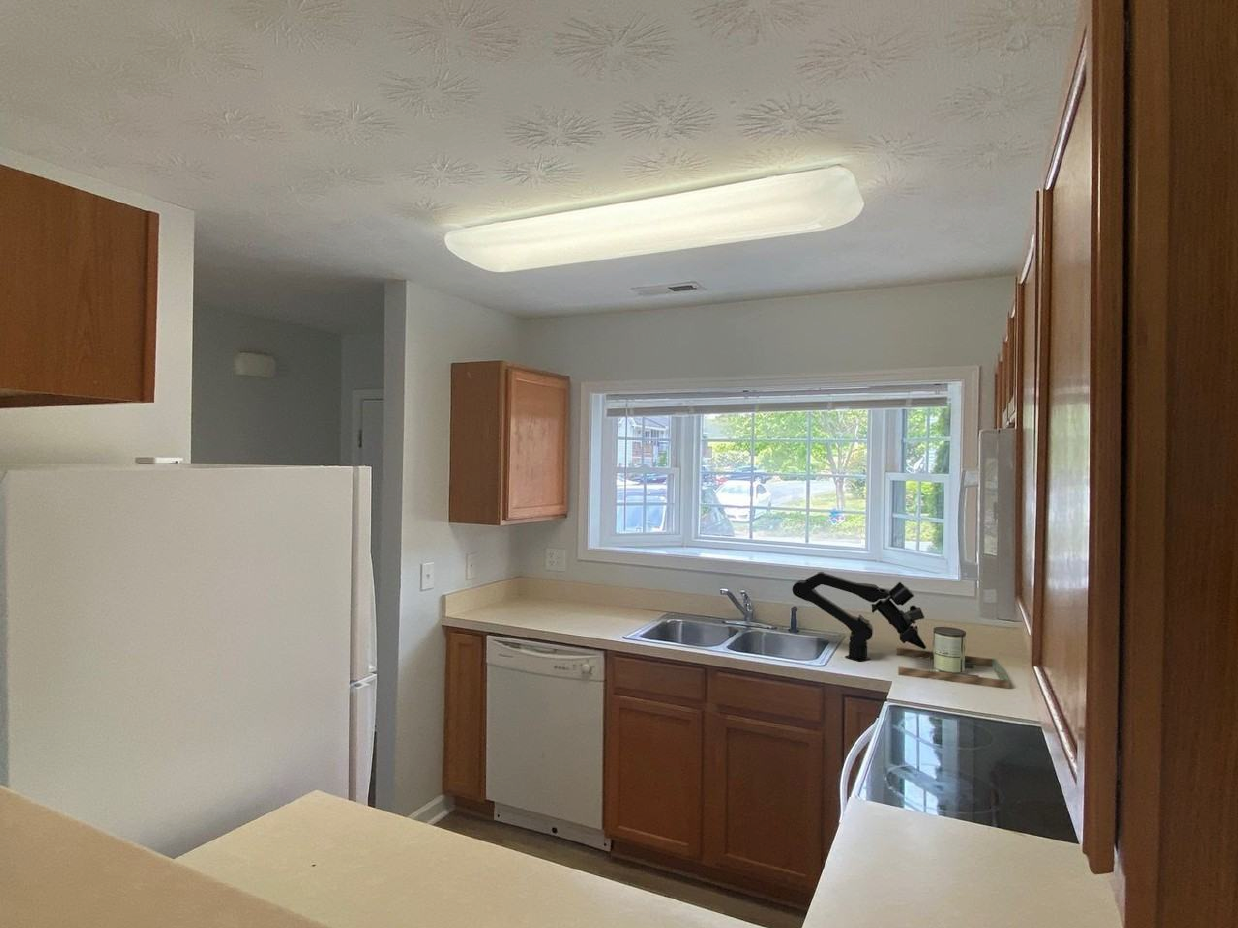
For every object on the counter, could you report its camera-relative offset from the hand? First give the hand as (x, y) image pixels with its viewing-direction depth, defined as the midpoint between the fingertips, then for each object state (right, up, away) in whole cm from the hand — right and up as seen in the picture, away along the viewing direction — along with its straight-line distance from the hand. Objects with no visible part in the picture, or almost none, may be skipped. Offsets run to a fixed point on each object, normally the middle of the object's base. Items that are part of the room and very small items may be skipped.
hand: (925, 648), depth 241 cm
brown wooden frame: (+7, -7, -3) cm, 10 cm away
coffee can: (+7, -7, -3) cm, 10 cm away
